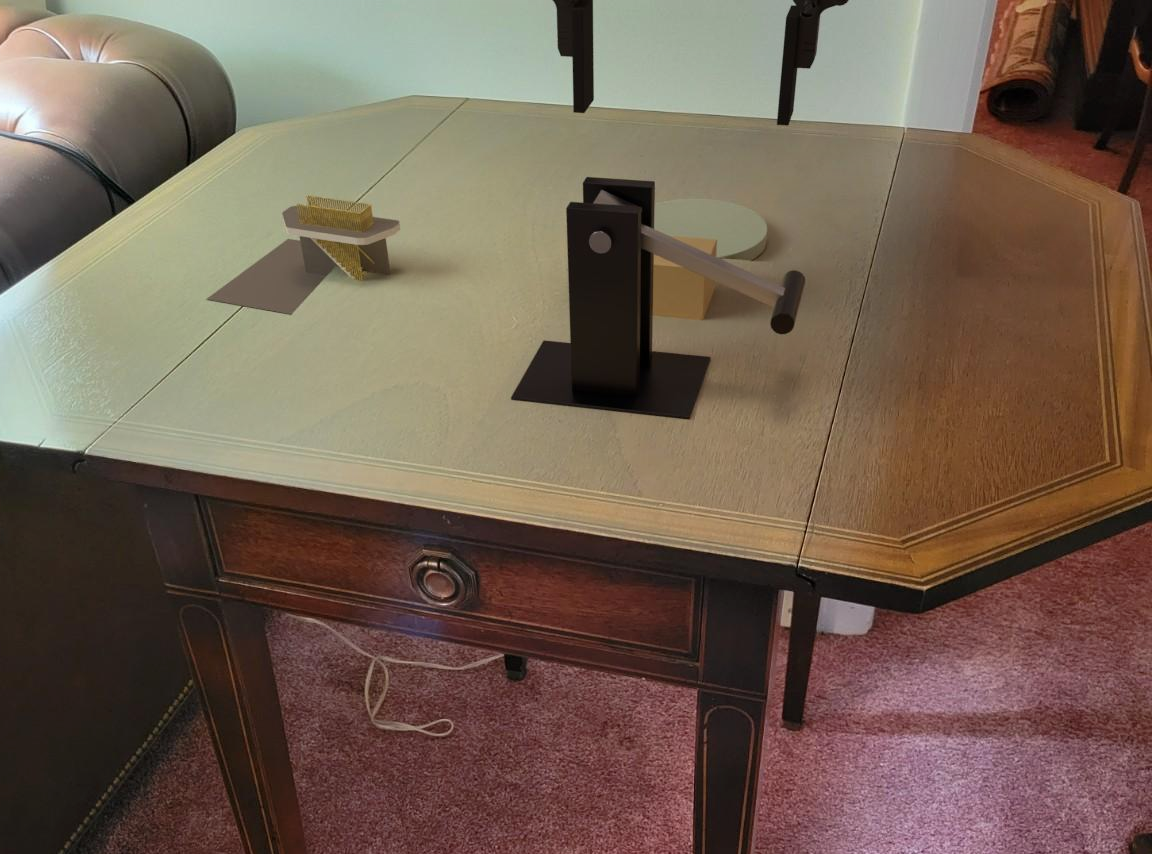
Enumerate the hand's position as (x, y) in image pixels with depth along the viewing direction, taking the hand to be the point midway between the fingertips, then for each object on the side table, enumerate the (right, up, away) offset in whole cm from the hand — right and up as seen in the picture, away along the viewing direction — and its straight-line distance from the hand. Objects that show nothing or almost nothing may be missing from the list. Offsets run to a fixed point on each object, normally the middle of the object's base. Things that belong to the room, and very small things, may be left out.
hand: (682, 112), depth 81 cm
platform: (-26, -7, +16) cm, 31 cm away
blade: (0, -12, -5) cm, 13 cm away
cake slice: (0, -11, +10) cm, 15 cm away
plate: (+3, -3, +20) cm, 20 cm away
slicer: (-5, -18, +2) cm, 19 cm away
